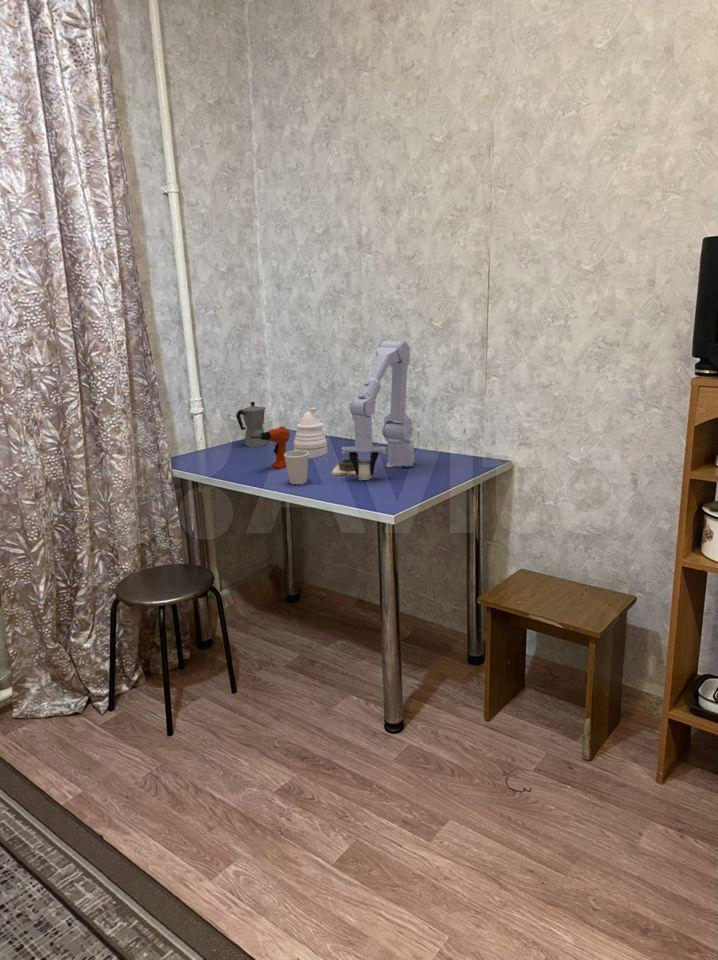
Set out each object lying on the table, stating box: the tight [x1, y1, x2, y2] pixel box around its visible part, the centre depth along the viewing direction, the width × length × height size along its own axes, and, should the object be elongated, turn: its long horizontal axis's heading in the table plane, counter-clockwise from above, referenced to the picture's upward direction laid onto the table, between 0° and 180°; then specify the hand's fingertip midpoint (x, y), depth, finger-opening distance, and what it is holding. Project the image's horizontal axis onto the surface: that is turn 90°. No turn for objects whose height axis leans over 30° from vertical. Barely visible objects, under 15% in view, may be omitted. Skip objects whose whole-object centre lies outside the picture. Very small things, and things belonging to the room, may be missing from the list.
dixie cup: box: [284, 450, 309, 486], centre depth 233 cm, size 8×8×10 cm
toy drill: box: [250, 426, 291, 470], centre depth 250 cm, size 5×19×15 cm, turn 141°
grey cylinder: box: [357, 459, 372, 481], centre depth 235 cm, size 4×4×6 cm
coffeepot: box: [235, 401, 268, 448], centre depth 288 cm, size 15×9×18 cm, turn 139°
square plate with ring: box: [330, 458, 361, 477], centre depth 245 cm, size 12×12×4 cm
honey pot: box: [293, 407, 328, 459], centre depth 269 cm, size 13×13×18 cm
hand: (364, 474), depth 235 cm, fingers closed on grey cylinder, 4 cm apart
